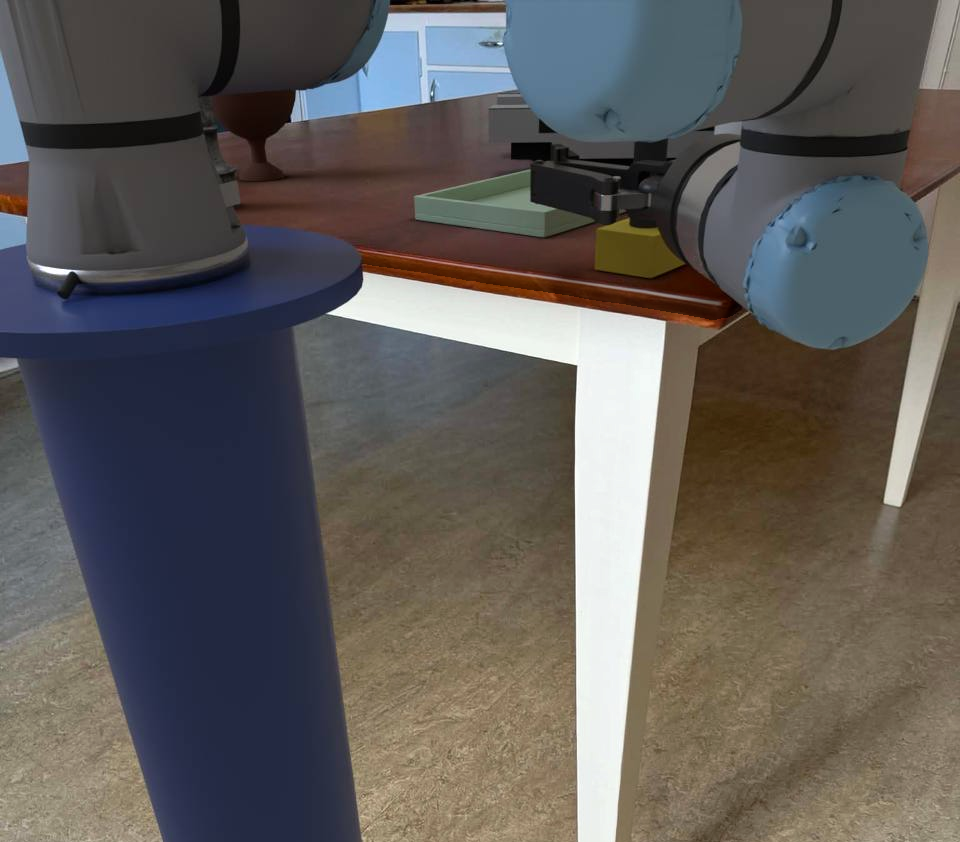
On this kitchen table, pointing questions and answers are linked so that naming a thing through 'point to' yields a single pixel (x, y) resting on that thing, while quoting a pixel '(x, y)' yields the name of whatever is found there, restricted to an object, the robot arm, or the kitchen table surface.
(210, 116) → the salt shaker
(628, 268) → the sponge wand
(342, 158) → the kitchen table surface
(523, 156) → the game console
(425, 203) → the tray
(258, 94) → the ice cream bowl
